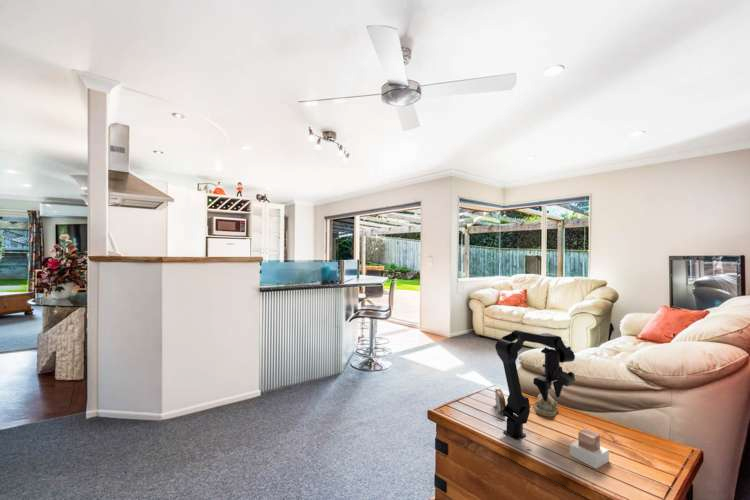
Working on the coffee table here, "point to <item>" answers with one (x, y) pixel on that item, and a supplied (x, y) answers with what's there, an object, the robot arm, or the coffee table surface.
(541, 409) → the ceramic model
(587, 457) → the base block
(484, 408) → the coffee table surface
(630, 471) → the coffee table surface
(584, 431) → the terracotta cube
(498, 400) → the mottled stone slab
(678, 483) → the coffee table surface
